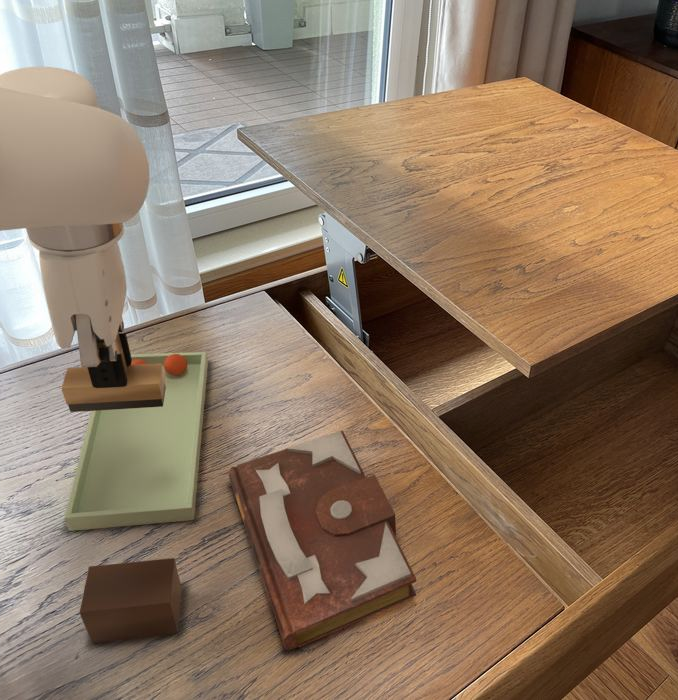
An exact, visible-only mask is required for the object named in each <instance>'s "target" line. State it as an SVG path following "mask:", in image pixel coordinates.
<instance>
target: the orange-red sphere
mask: <svg viewBox="0 0 678 700" xmlns="http://www.w3.org/2000/svg"><path fill="white" fill-rule="evenodd" d="M164 368H165V370H166V372H167V373H169V374H171V375H180V374H182V373H184V372H185V370H186V368H187V361H186V359H185V358H184V357H183V356H182V355H179V354H172V355H170V356H168V357H167V358H166V359H165V361H164Z"/></svg>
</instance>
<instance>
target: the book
mask: <svg viewBox="0 0 678 700" xmlns="http://www.w3.org/2000/svg"><path fill="white" fill-rule="evenodd" d="M227 475H228V479H229V482H230V485H231V488H232V491H233V495H234V498H235V500H236V504H237V506H238V509H239V512H240V515H241V518H242V521H243V525H244V528H245V530H246V534H247V536H248V540H249V543H250V545H251V549H252V552H253V555H254V558H255V561H256V564H257V567H258V570H259V573H260V576H261V579H262V582H263V585H264V588H265V592H266V595H267V598H268V600H269V603H270V607H271V610H272V612H273V615H274V619H275V622H276V624H277V627H278V630H279V634H280V636H281V640H282V643H283V646H284V648H285V650H286V651H293V650H295V649H296V648H301V647H303V646H305V645H308V644H310V643H312V642H315V641H317V640H320V639H321V638H323V637H325V636H329V635H331V634H332V633H335V632H337V631H339V630H342V629H344V628H346V627H348V626H350V625H353V624H355V623H357V622H359V621H362V620H364V619H367V618H368V617H371V616H374V615H375V614H377V613H381V612H383V611H385V610H387V609H389V608H391V607H394V606H396V605H398V604H401V603H403V602H405V601H407V600H409V599H412V598H414V597H416V596H417V592H416V590H415V588H414V586H413V584H414V583H416V582H417V577H416V576H415V573H414V571H413V568H412V567H411V565H410V563H409V561H408V559H407V557H406V555H405V553H404V551H403V549H402V546H401V545H400V543H399V541H398V539H397V529H396V526H397V525H396V524H397V523H396V513H395V511H394V509H393V507H392V505H391V503H390V501H389V499H388V497H387V495H386V493H385V491H384V490H383V488H382V486H381V484H380V482H379V480H378V478H377V476H376V474H372V475H369V476H366V475H365V473H364V471H363V469H362V466H361V464H360V462H359V461H358V459H357V457H356V454H355V453H354V450H353V448H352V446H351V444H350V441H348V438H347V437H346V434H345V432H344V430H340V431H336V432H333V433H331V434H327V435H323V436H321V437H318V438H315V439H312V440H309V441H306V442H302V443H300V444H297V445H294V446H290V447H287V448H285V449H282V450H278V451H275V452H272V453H269V454H267V455H263V456H260V457H258V458H254V459H251V460H248V461H245V462H242V463H238V464H237V465H236V466H232V467H231V468H229V470H228V472H227Z"/></svg>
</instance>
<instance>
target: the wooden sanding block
mask: <svg viewBox="0 0 678 700" xmlns="http://www.w3.org/2000/svg"><path fill="white" fill-rule="evenodd" d="M119 334H120V332H119V333H117V336H116V339H115V345H116V349H117V354H121V355H122V359H123V363H124V368H125V372H126V376H127V380H128V382H127V385H126V386H125V387H112V388H94V387H93V386H92V382H91V379H90V375H89V372H88V368H87V367H82V366H77V367H73V366H72V367H67V368H66V371H65V375H64V378H63V382H62V385H61V389H60V390H61V392H62V395H63V398H64V401H65V404H66V405H67V406H68V409H69V412H70V413H78V412H91V411H98V410H115V409H131V408H148V407H163V404H164V397H165V390H166V385H165V375H164V370H163V365H162V363H159V364H138V365H129V366H127V365H126V361H125V357H124V353H123V349H122V345H121V341H120V337H119ZM96 344H97V348H107V347H106V345H103V343H96Z"/></svg>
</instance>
